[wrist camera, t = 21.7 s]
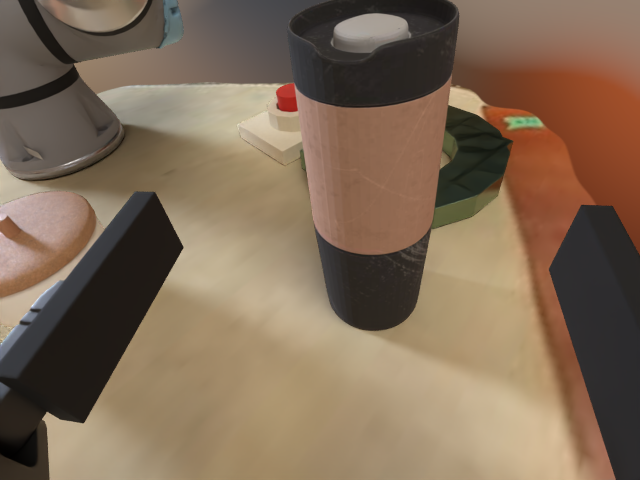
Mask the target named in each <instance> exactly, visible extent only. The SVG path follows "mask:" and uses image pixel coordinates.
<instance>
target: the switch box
mask: <svg viewBox="0 0 640 480" xmlns="http://www.w3.org/2000/svg"><path fill="white" fill-rule="evenodd" d="M237 125H238V129H239V132H240V136H241V138H242V139H244V140H246V141H247V142H249V143H250V144H252V145H253V146H255V147H256V148H258V149H260V150H261V151H263V152H264V153H266V154H267V155H269V156H270V157H272V158H274V159H275V160H277V161H278V162H280V163H281V164H283V165H284V166H286V165H288V164H289V163H291V162H293V161H295V160H297V159H299V158H300V150H301V149H303V143H302V135H301V128H300V121H299V114H298V111H296V112H283V111H281V110H279V106H278V100H277V97H275V98H273V99H272V100H271V101H270V102H269V103H268V104H267V111H264V112H262V113H260V114H258V115H256V116H254V117H251V118H249V119H247V120H245V121H243V122H240V123H238V124H237Z"/></svg>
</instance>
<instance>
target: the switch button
mask: <svg viewBox="0 0 640 480" xmlns="http://www.w3.org/2000/svg"><path fill="white" fill-rule="evenodd" d="M276 95H277V100H278V106H279V110H281V111H283V112H296V111H298V107H297V100H296V93H295V85H294V83H293V84H287V85H284V86H282V87H280V88H279V89H278V90H277V91H276Z"/></svg>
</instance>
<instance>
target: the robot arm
mask: <svg viewBox="0 0 640 480" xmlns="http://www.w3.org/2000/svg"><path fill="white" fill-rule="evenodd" d="M183 32H184V30H183V23H182V18H181V13H180V10H179V7H178V1H177V0H0V159H1V161H2V162H3V164H4V166H5V167H6V168H7V169H8V170H9V172H10V173H11V174H12V175H13V176H15V177H17V178H21V179H27V180H40V179H48V178H54V177H58V176H62V175H66V174H69V173H72V172H75V171H78V170H80V169H83V168H85V167H87V166H89V165H91V164H93V163H95V162H97V161H99V160H101V159H102V158H104V157H105V156H107V155H108V154H109V153H111V152H112V151H113V150H114V149H115V148H116V147H117V146H118V145H119V144H120V143H121V141H122V139H123V137H124V129H123V127H122V125H121V123H120V121H119V119H118V118H117V116H116V115H115V114H114V113H113V112H112V111H111V109H110V108H109V107H108V106H107V105H106V104H105V103H104V102H103V101H102V100H101V99H100V98H99V97H98V96H97V95H96V94H95V93H94V92H93V91H92V90H91V89H90V88H89V87H88V86H87V85H86V84H85V83H84V81H83V80H82V79H81V77H80V76H79V73H78V72H77V70H76V68H75V66H74V64H73V63H78V62H82V61H87V60H92V59H98V58H103V57H108V56H114V55H119V54H124V53H130V52H135V51H141V50H146V49H151V48H163V47H164V46H165V45H169V44H172V43H176V42H178V41H179V40H181V38H182V36H183ZM183 248H184V247H183V245H182V243H181V241H180V239H179V237H178V235H177V234H176V232H175V230H174V228H173V226H172V224H171V222H170V220H169V218H168V216H167V214H166V212H165V210H164V208H163V206H162V204H161V202H160V201H159V199H158V197H157V195H156V193H155V192H134V194H133V195H132V196H131V197H130V199H129V200H128V201H127V202H126V204H125V205H124V206H123V207H122V209H121V210H120V211H119V213H118V214H117V215H116V216H115V218H114V219H113V220H112V221H111V223H110V224H109V225H108V226H107V228H106V229H105V230H104V231H103V233H102V234H101V235H100V236H99V238H98V239H97V240H96V241H95V243H94V244H93V245H92V246H91V248H90V249H89V250H88V251H87V253H86V254H85V255H84V256H83V258H82V259H81V260H80V261H79V263H78V264H77V265H76V266H75V268H74V269H73V270H72V271H71V273H70V274H69V275H68V276H67V278H66V279H65V280H59V281H58V282H56V283H55V284H54V285H52V286H51V287H50V288H49V289H47V290H46V291H45V292H43V293H42V294H41V296H40V297H39V298H38V299H37V300H36V302H35V303H34V304H33V305H32V307H31V308H30V311H29V312H27V313H26V314H25V315H24V316H23V317H22V319H21V320H20V321H19V322H20V323H19V325H16V326H15V327H14V328H13V330H12V331H11V332H10V333H9V335H8V336H7V337H6V338H5V339H4V341H3V342H2V343H1V344H0V480H49V461H48V441H47V427H46V424H45V421H43V420H42V418H43V417H44V415H45V414H46V412H49V413H51V414H52V415H54V416H55V417H57V418H59V419H61V420H67V421H73V422H79V423H84V422H85V421H86V419H87V417H88V415H89V413H90V412H91V410H92V408H93V406H94V405H95V403H96V401H97V399H98V398H99V396H100V394H101V392H102V391H103V389H104V387H105V385H106V384H107V382H108V380H109V378H110V376H111V375H112V373H113V371H114V369H115V368H116V366H117V364H118V362H119V361H120V359H121V357H122V355H123V354H124V352H125V350H126V348H127V346H128V345H129V343H130V341H131V339H132V338H133V336H134V334H135V332H136V331H137V329H138V327H139V325H140V324H141V322H142V320H143V318H144V316H145V315H146V313H147V311H148V309H149V308H150V306H151V304H152V302H153V301H154V299H155V297H156V295H157V294H158V292H159V290H160V288H161V287H162V285H163V283H164V281H165V279H166V278H167V276H168V274H169V272H170V271H171V269H172V267H173V265H174V264H175V262H176V260H177V258H178V257H179V255H180V253H181V251H182V249H183ZM549 272H550V275H551V278H552V281H553V284H554V287H555V290H556V293H557V297H558V300H559V303H560V306H561V309H562V312H563V315H564V319H565V322H566V325H567V328H568V331H569V334H570V337H571V340H572V344H573V347H574V350H575V353H576V356H577V359H578V362H579V366H580V369H581V372H582V375H583V378H584V381H585V384H586V387H587V391H588V394H589V397H590V400H591V403H592V406H593V409H594V413H595V416H596V419H597V422H598V425H599V428H600V431H601V434H602V438H603V441H604V444H605V447H606V450H607V453H608V456H609V460H610V463H611V466H612V469H613V472H614V475H615V478H616V480H640V255H639V253H638V251H637V250H636V248H635V246H634V244H633V242H632V240H631V239H630V237H629V235H628V234H627V231H626V230H625V228H624V226H623V224H622V222H621V220H620V219H619V217H618V215H617V213H616V211H615V210H614V208H613V206H598V205H581V207H580V209H579V211H578V213H577V215H576V217H575V219H574V220H573V222H572V224H571V226H570V228H569V230H568V232H567V234H566V236H565V238H564V240H563V242H562V244H561V246H560V248H559V250H558V252H557V254H556V256H555V258H554V260H553V262H552V264H551V266H550V268H549Z"/></svg>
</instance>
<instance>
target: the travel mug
mask: <svg viewBox="0 0 640 480" xmlns="http://www.w3.org/2000/svg"><path fill="white" fill-rule="evenodd" d="M458 24H459V12H458V8H457V7H456V6H455V5H454V4H453V3H452V2H450V1H448V0H330V1H326V2H323V3H319V4H317V5H314V6H311V7H309V8H307V9H305V10H303V11H301V12H299V13H298V14H296V15H295V16H294V17H293V18H292V19H291V20H290V21H289V23H288V27H287V33H288V43H289V49H290V57H291V64H292V71H293V78H294V85H295V93H296V100H297V107H298V114H299V121H300V128H301V135H302V143H303V150H304V157H305V164H306V171H307V178H308V186H309V193H310V200H311V207H312V214H313V221H314V227H315V232H316V237H317V242H318V247H319V252H320V257H321V262H322V267H323V273H324V278H325V283H326V288H327V292H328V297H329V300H330V304H331V306H332V308H333V310H334V311H335V313H336V314H337V315H338V316H339V317H340V318H341V319H342V320H343V321H345V322H346V323H348V324H349V325H352V326H354V327H356V328H359V329H364V330H384V329H388V328H392V327H394V326H396V325H398V324H400V323H402V322H403V321H404V320H406V319H407V318H408V317H409V315H410V314H411V313H412V312H413V310H414V308H415V306H416V303H417V299H418V295H419V290H420V285H421V280H422V274H423V269H424V264H425V258H426V253H427V248H428V243H429V237H430V232H431V227H432V221H433V215H434V207H435V200H436V192H437V184H438V177H439V169H440V162H441V154H442V147H443V139H444V131H445V124H446V116H447V109H448V101H449V93H450V86H451V78H452V70H453V63H454V56H455V48H456V40H457V33H458Z"/></svg>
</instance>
